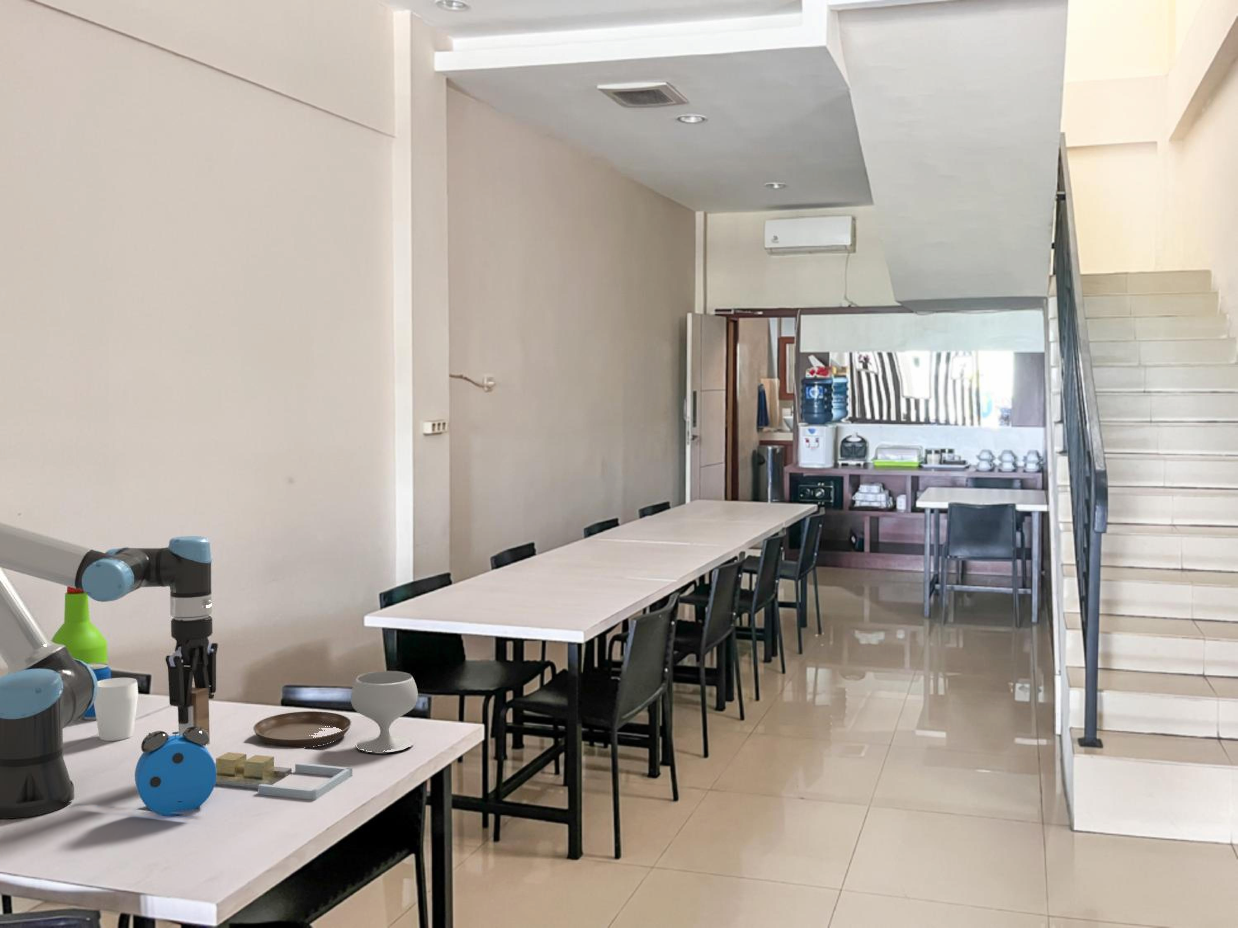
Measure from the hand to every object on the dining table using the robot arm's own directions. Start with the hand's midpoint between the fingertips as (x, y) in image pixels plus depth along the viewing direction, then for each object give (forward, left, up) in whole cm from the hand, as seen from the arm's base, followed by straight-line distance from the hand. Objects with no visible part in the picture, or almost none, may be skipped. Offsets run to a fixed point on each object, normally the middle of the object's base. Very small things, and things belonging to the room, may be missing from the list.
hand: (194, 735), depth 221 cm
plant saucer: (+30, -6, -9) cm, 32 cm away
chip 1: (0, -8, -7) cm, 11 cm away
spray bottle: (+49, +65, -9) cm, 82 cm away
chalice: (+29, -26, -9) cm, 40 cm away
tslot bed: (0, -10, -8) cm, 13 cm away
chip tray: (0, -24, -8) cm, 26 cm away
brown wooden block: (0, 0, -2) cm, 2 cm away
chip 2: (0, -14, -7) cm, 16 cm away
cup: (+19, +33, -9) cm, 39 cm away
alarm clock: (-17, -8, -9) cm, 21 cm away
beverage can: (+31, +48, -9) cm, 58 cm away
